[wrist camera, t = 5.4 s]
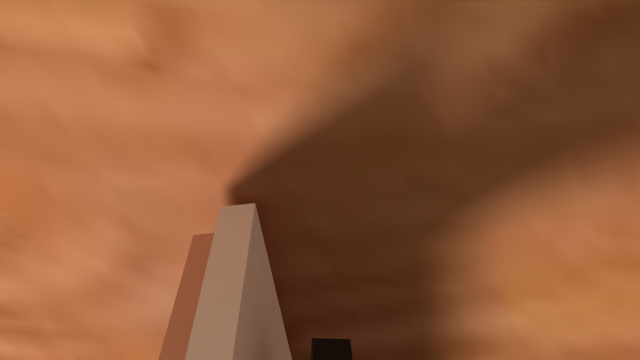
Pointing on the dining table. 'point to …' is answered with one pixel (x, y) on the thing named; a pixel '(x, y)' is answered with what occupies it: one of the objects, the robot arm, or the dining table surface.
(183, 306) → the side door
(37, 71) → the dining table surface
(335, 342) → the robot arm
